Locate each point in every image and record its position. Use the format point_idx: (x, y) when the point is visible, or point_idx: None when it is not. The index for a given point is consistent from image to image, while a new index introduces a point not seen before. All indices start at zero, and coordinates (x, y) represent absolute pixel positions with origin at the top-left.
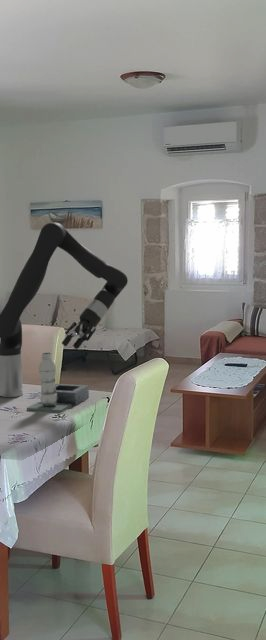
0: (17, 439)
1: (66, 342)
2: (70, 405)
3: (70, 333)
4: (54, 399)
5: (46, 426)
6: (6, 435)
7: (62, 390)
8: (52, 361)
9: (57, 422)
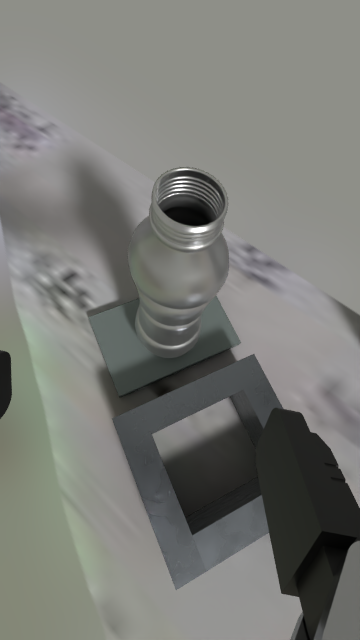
0: (10, 115)
1: (272, 471)
2: (117, 392)
3: (324, 618)
4: (135, 321)
5: (22, 207)
6: (57, 121)
7: (192, 412)
8: (152, 252)
9: (21, 246)
